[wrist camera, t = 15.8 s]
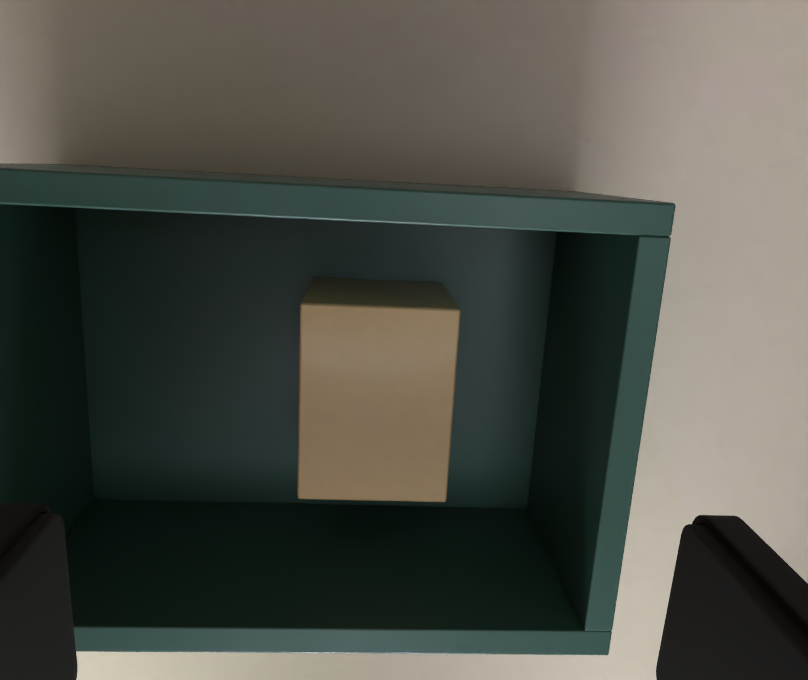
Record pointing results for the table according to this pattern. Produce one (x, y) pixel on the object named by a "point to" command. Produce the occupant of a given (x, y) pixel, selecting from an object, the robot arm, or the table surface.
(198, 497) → the box
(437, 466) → the kraft parcel
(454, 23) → the table surface
